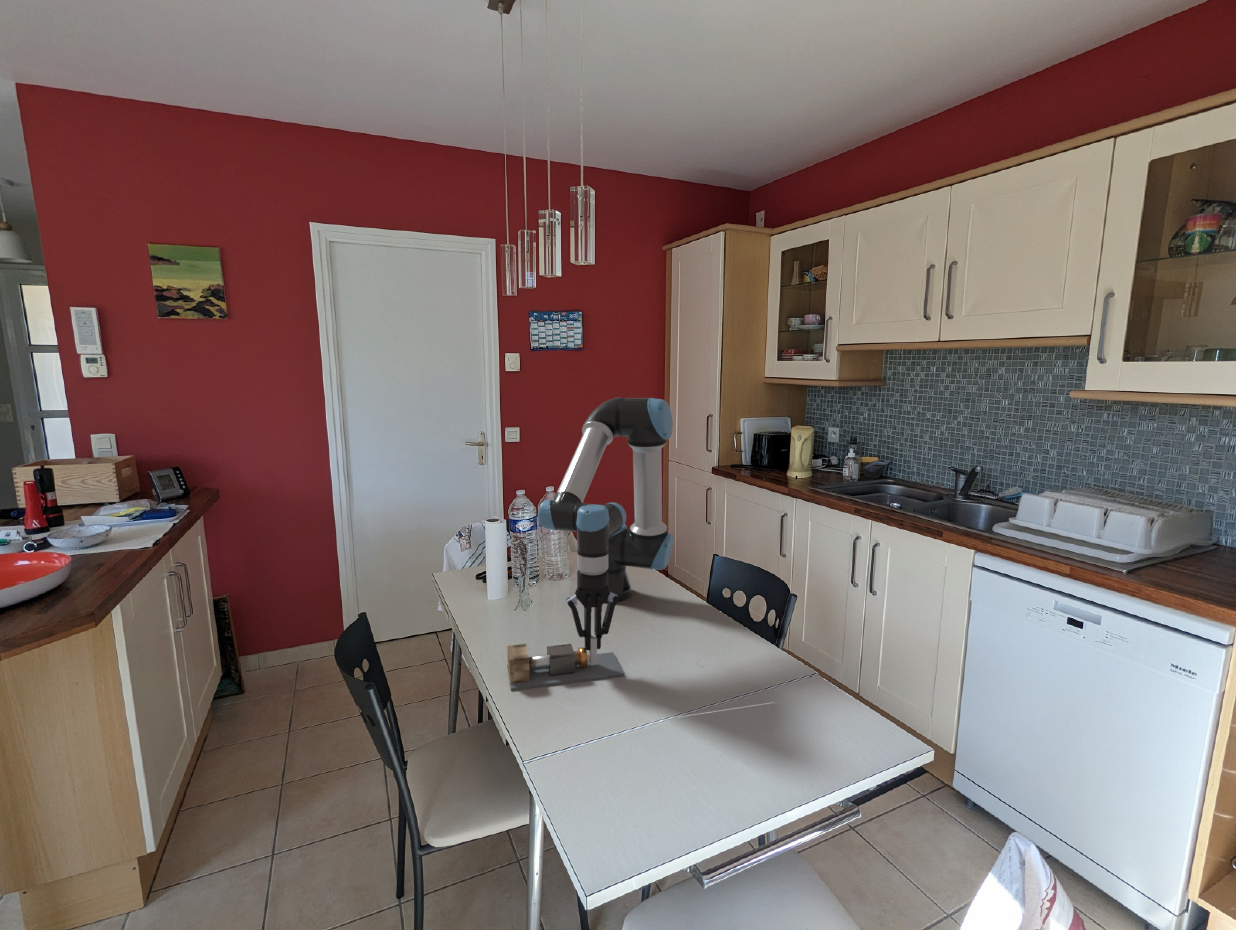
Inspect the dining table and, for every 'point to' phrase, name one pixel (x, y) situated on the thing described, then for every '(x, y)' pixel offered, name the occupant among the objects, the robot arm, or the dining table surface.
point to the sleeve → (561, 660)
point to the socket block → (518, 663)
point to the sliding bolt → (544, 660)
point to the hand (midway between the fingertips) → (592, 661)
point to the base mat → (602, 669)
